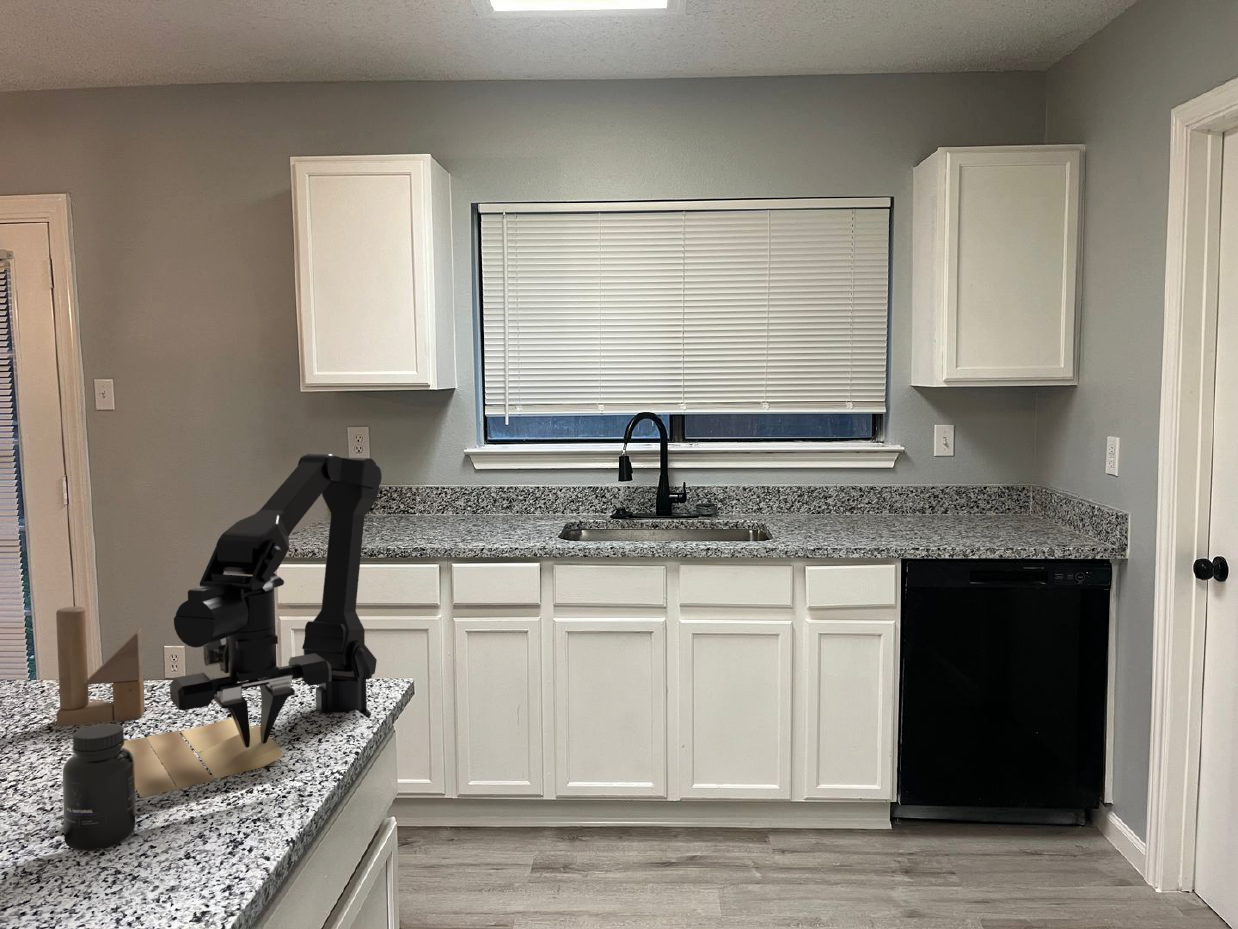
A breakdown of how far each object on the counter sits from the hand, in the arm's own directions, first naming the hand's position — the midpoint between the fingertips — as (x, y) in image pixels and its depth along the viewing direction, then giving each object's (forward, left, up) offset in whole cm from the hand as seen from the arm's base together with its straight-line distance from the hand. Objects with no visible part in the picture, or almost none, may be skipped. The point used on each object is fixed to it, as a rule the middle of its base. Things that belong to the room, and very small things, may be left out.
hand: (255, 744), depth 116 cm
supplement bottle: (+19, +8, -4) cm, 21 cm away
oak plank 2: (+1, -1, -2) cm, 3 cm away
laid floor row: (+10, -6, -3) cm, 12 cm away
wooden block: (+14, -29, -4) cm, 32 cm away
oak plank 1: (+2, -11, -3) cm, 12 cm away
